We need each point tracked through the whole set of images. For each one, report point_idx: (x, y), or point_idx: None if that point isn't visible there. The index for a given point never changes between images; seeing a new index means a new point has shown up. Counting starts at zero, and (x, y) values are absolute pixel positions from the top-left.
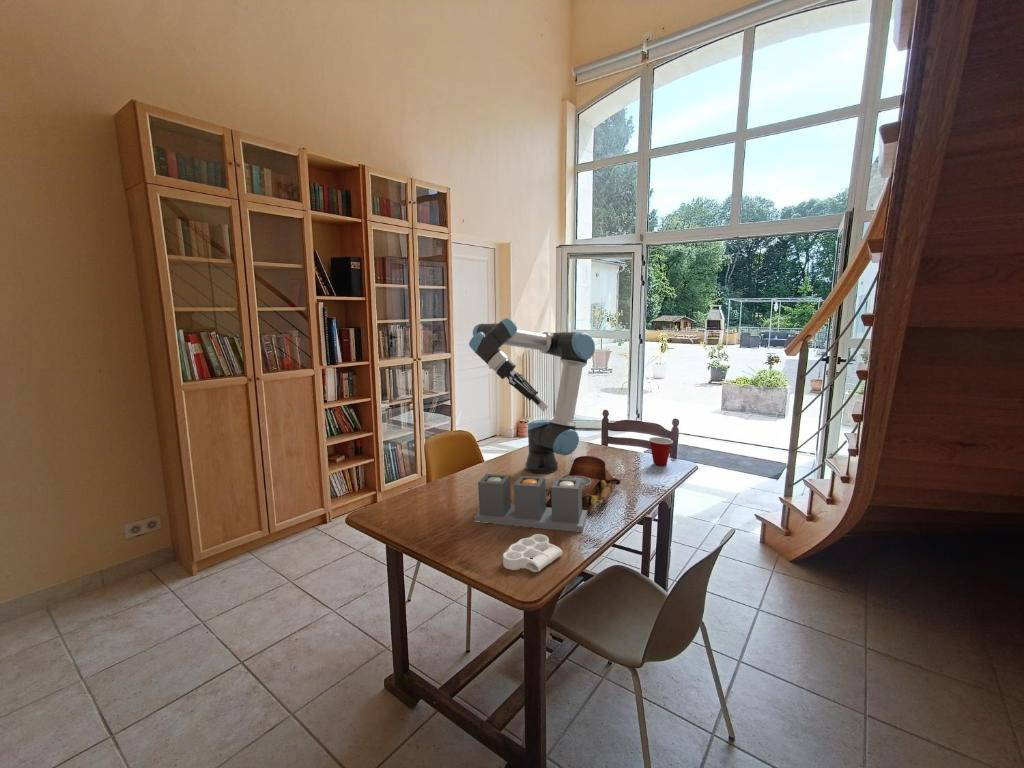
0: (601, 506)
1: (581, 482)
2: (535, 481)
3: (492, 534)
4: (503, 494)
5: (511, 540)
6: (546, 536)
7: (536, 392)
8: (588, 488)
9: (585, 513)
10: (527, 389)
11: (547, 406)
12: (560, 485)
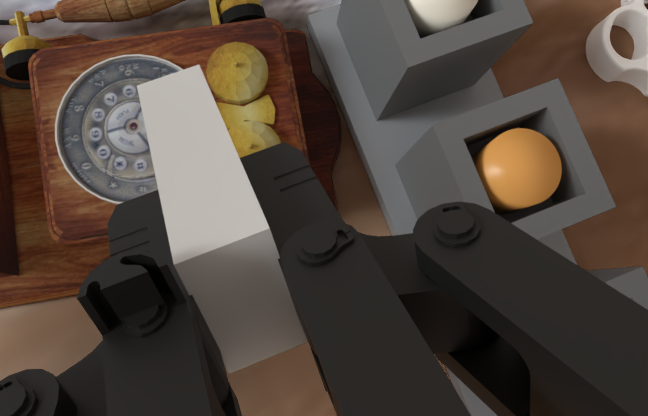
0: (190, 15)
1: None
2: (505, 139)
3: (645, 248)
4: (602, 271)
5: (636, 160)
6: (608, 23)
7: (168, 270)
8: (187, 40)
9: (339, 7)
10: (567, 338)
11: (201, 74)
12: (477, 1)
